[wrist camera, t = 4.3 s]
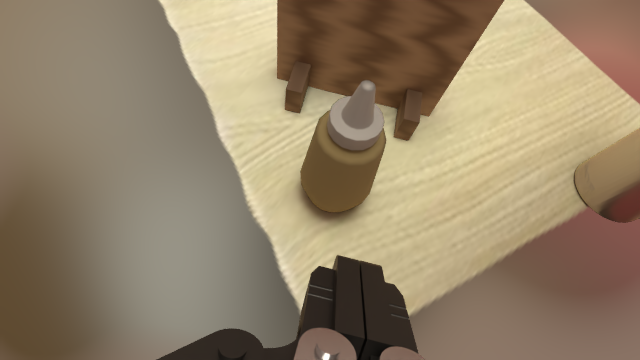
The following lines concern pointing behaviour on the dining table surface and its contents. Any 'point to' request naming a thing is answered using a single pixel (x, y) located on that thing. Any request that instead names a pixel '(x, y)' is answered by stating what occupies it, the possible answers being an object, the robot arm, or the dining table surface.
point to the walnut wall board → (378, 49)
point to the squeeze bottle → (345, 152)
